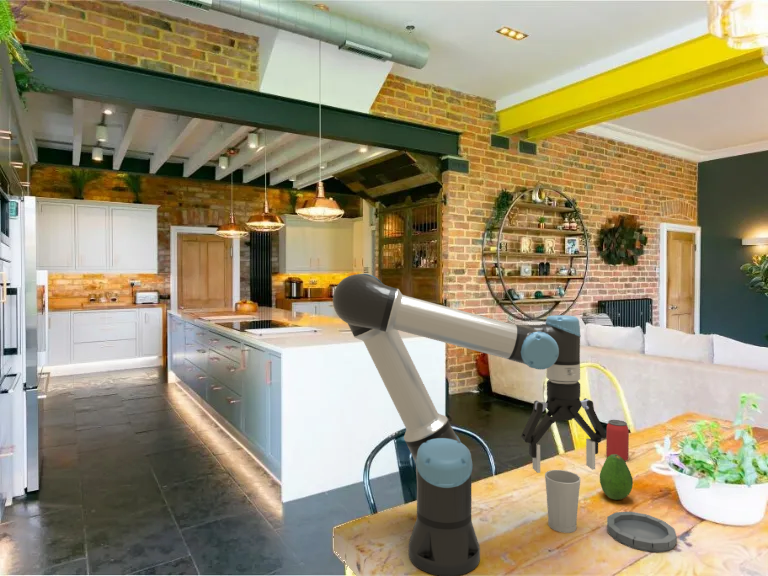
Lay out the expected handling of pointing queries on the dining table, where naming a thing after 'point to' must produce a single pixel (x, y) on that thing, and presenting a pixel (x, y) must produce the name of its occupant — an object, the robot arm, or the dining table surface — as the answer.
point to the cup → (562, 499)
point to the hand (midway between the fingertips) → (563, 469)
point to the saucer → (641, 531)
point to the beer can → (617, 439)
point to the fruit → (616, 478)
